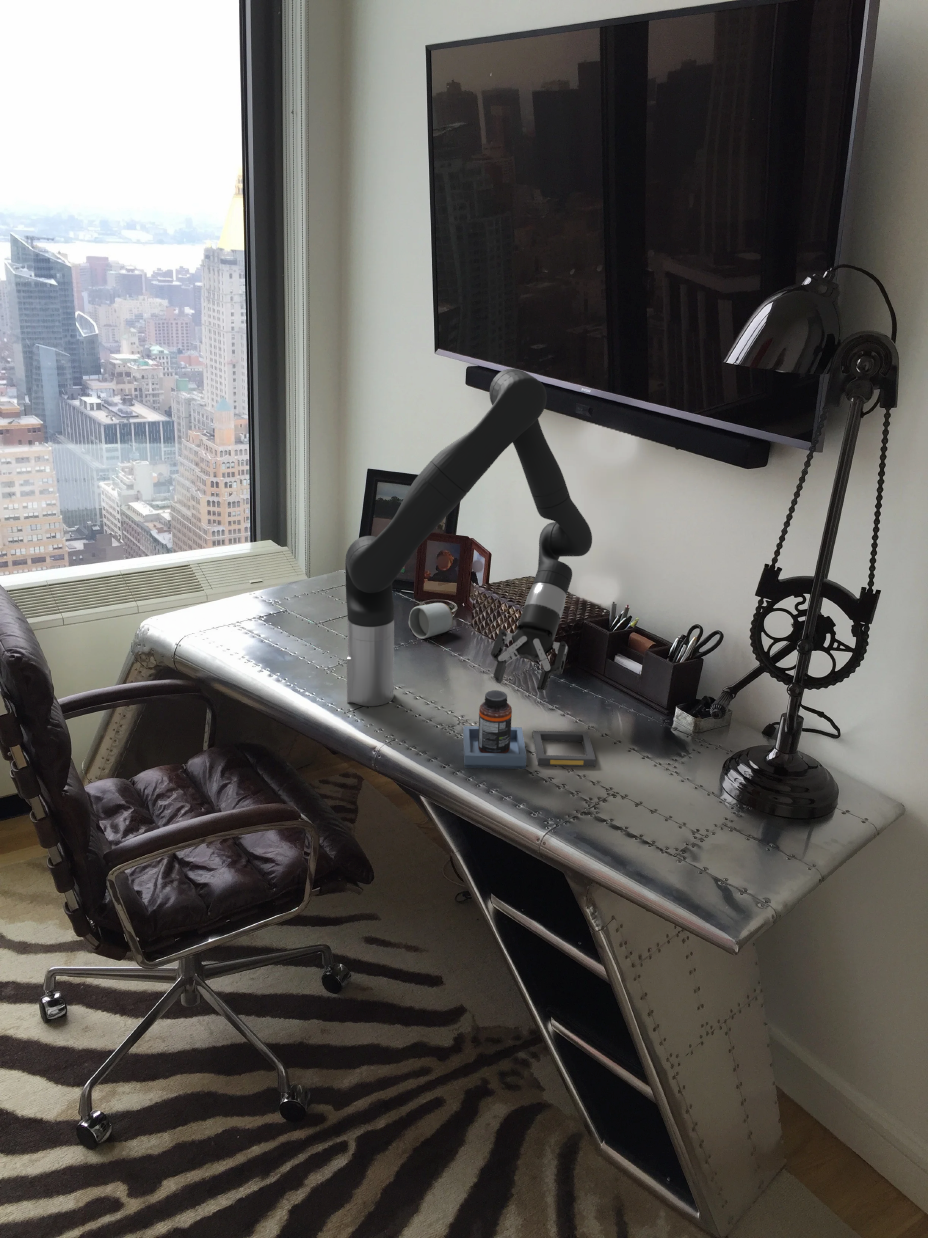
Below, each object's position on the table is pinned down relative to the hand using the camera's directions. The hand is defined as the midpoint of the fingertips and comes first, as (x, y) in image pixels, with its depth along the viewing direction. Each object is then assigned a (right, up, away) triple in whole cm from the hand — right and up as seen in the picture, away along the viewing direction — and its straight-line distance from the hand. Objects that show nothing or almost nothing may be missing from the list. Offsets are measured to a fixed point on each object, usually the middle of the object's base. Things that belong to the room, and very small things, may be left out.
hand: (518, 686), depth 189 cm
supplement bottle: (-5, -11, -7) cm, 14 cm away
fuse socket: (+8, -12, -5) cm, 15 cm away
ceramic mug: (-19, +9, +46) cm, 50 cm away
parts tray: (-5, -12, -7) cm, 14 cm away
